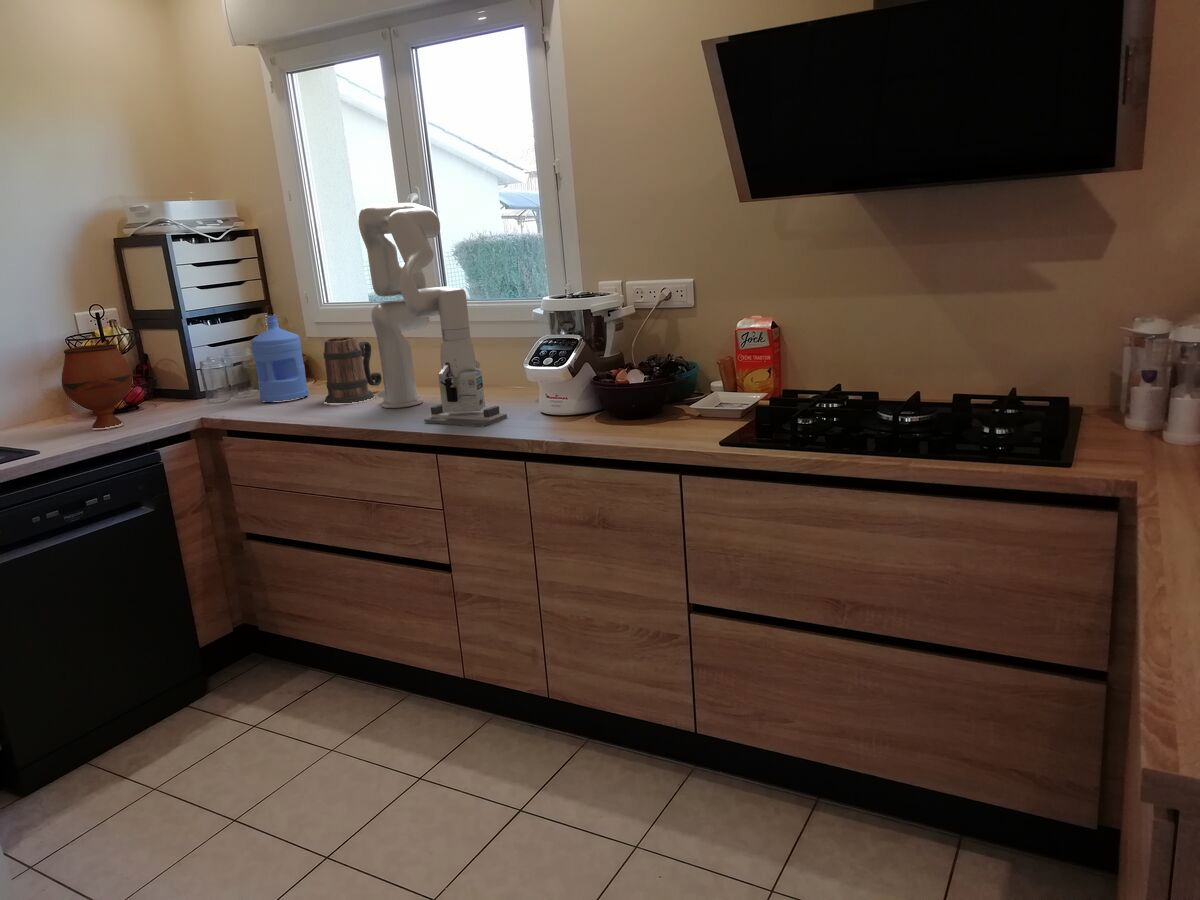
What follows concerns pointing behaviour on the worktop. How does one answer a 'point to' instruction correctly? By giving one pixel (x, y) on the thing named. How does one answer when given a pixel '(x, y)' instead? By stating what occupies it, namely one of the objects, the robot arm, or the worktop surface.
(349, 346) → the tankard
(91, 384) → the goblet
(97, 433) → the worktop surface
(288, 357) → the water jug
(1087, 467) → the worktop surface
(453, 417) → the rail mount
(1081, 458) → the worktop surface
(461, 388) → the light bulb box
